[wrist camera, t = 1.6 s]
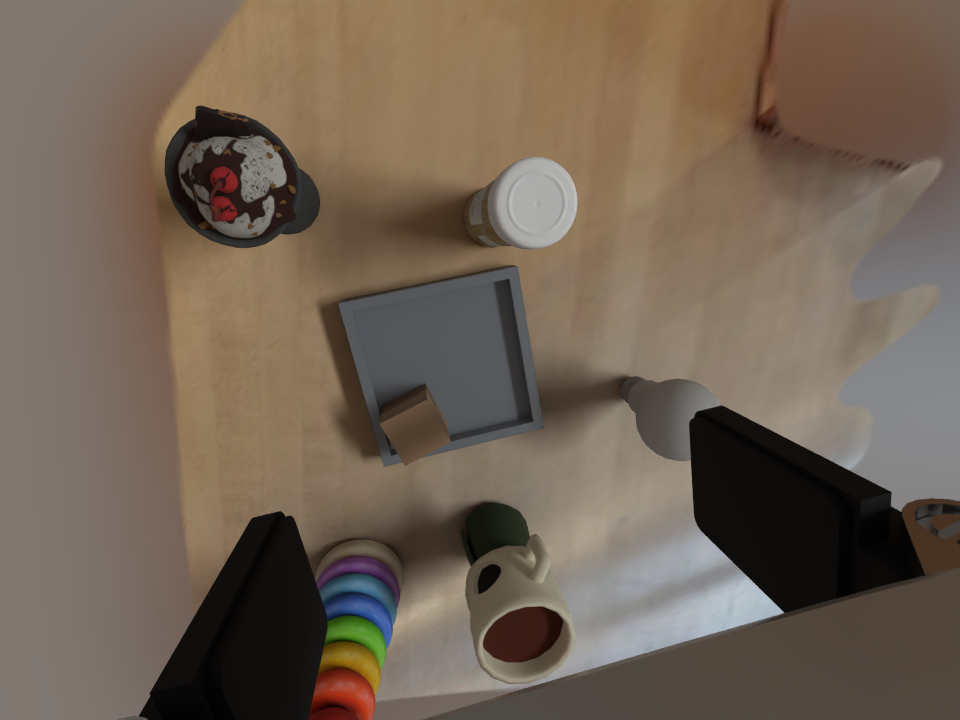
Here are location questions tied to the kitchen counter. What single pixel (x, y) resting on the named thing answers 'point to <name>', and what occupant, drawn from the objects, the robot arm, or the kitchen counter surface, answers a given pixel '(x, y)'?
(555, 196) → the sprinkles bottle
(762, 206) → the kitchen counter surface
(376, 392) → the slate tray
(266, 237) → the sundae
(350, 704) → the stacking toy
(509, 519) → the character mug
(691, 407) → the lightbulb
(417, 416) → the walnut block
